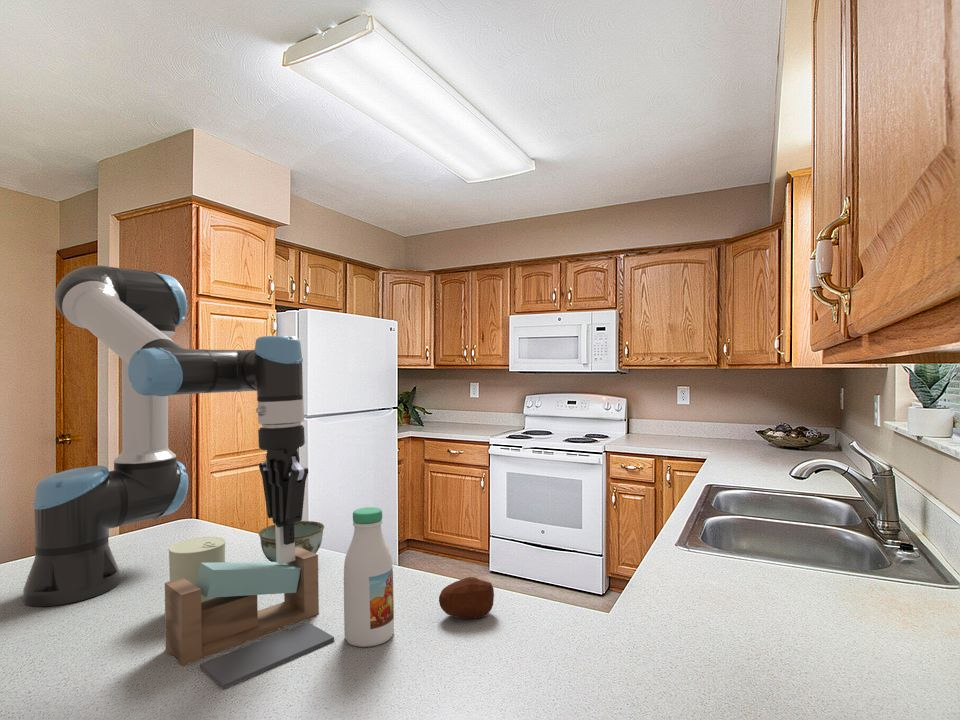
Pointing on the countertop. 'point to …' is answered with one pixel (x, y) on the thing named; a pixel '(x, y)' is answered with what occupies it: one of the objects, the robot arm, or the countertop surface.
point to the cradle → (233, 614)
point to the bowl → (305, 537)
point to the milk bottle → (368, 582)
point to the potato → (467, 598)
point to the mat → (265, 654)
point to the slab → (246, 578)
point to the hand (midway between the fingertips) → (285, 561)
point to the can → (194, 557)
